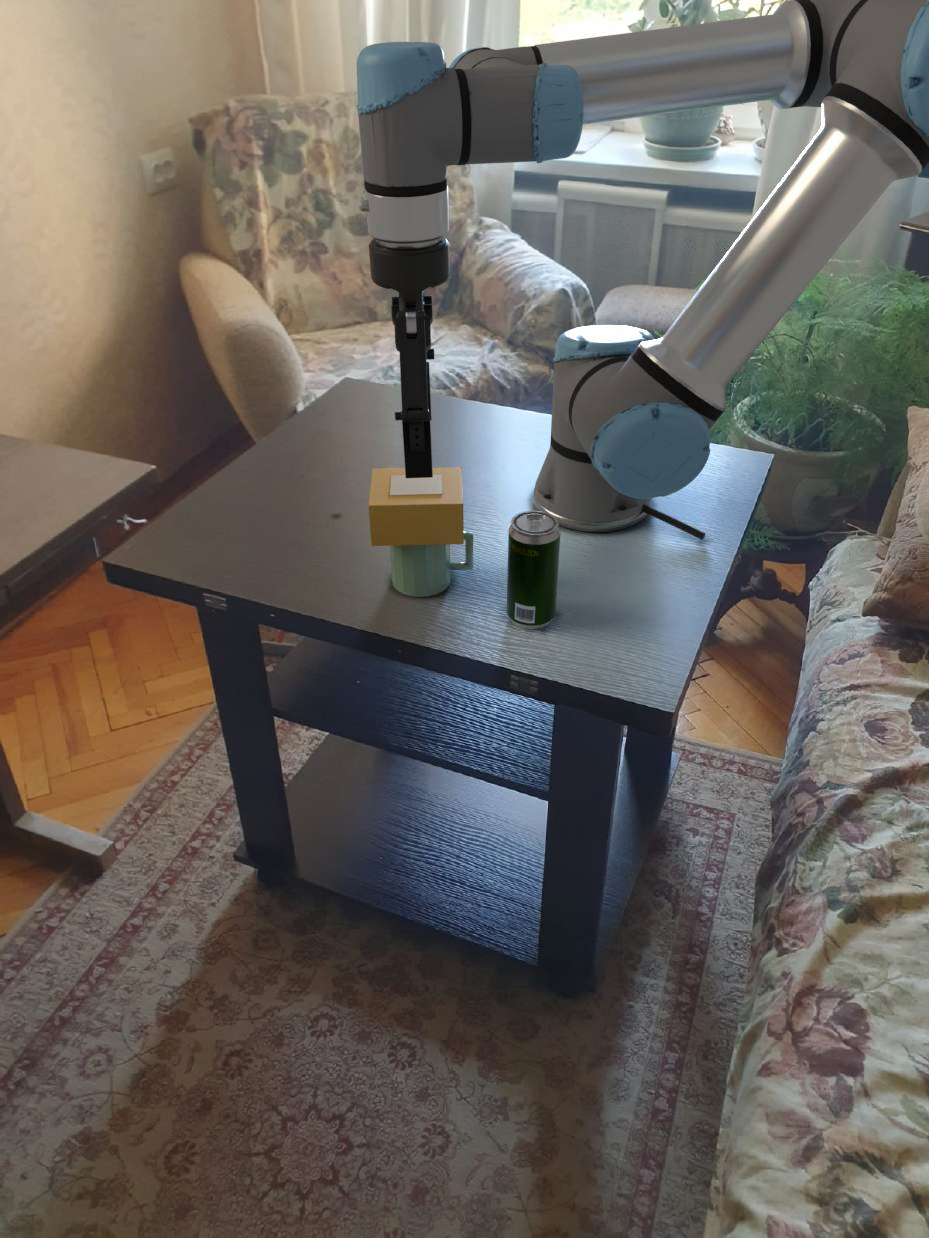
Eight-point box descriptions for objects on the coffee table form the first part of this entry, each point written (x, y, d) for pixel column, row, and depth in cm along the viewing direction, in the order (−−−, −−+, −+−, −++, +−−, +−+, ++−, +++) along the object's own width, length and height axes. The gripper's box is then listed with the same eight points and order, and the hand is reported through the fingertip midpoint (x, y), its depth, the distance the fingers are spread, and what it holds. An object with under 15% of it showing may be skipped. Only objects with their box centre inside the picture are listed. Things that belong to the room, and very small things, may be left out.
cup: (391, 598, 106) (387, 541, 102) (393, 565, 112) (389, 510, 107) (474, 596, 107) (474, 539, 102) (472, 563, 112) (472, 509, 108)
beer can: (552, 633, 101) (558, 538, 94) (503, 628, 101) (505, 533, 94) (557, 604, 105) (563, 511, 98) (509, 600, 106) (512, 507, 99)
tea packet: (461, 505, 108) (461, 465, 105) (463, 544, 101) (463, 502, 98) (375, 507, 108) (372, 467, 105) (371, 546, 101) (368, 504, 98)
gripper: (373, 207, 97) (387, 400, 110) (361, 279, 77) (379, 505, 89) (445, 205, 97) (451, 398, 110) (452, 276, 77) (458, 502, 90)
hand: (419, 446), depth 100 cm, fingers open, 13 cm apart
